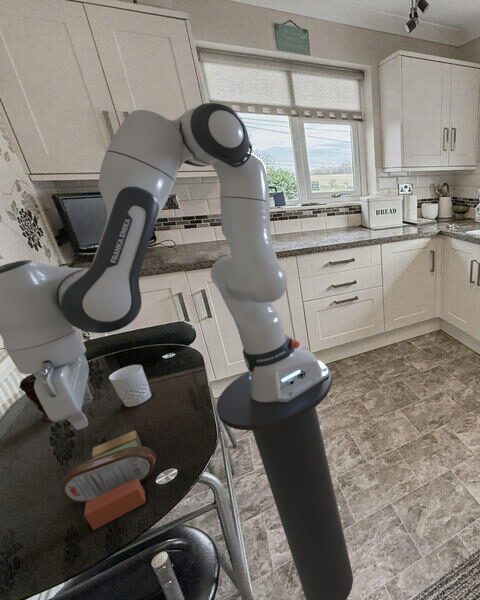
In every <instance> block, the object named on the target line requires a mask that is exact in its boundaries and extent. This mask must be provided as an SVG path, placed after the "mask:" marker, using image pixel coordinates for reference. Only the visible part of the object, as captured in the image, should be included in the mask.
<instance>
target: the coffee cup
mask: <svg viewBox="0 0 480 600" xmlns="http://www.w3.org/2000/svg"><path fill="white" fill-rule="evenodd" d="M36 379H37V378H36V377H35V376H34V374H28V375H27V376H26V377H24V378H22V379H21V380H20V382H19V386H18V388H19V389H20V390H21V391H22V392H24V393H25V396H26V397H27V398H28V399H29V401H30V402H31V403H32V404H33V406H34V407H35V408H36V410H38V411H39V412H41V413H42V414H43V418H44V419H45V420H50V419H49V417H48V416H47V414H46V412H45V410H44V408H43V406H42V405H41V403H40V401H39V399H38V397H37V395H36V392H35V389H34V383H35V381H36ZM50 421H51V420H50Z"/></svg>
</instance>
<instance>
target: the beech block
mask: <svg viewBox="0 0 480 600" xmlns="http://www.w3.org/2000/svg"><path fill="white" fill-rule="evenodd" d="M135 440H136V442H137V444H138V446H142V441H141V439H140V437H139V435H138V432H137V431H136V430H132V431H130V432H128V433H125V434H123V435H121V436H119V437H115V438H113V439H111V440H109V441H105V442H104V443H102V444H98V445H96V446H94V447H92V453H91V459H93V458H96V457H98V456H100V455H103V454H105V453H107V452H110V451H112V450H114V449H116V448H119V447H121V446H123V445H126V444H128V443H130V442H133V441H135Z"/></svg>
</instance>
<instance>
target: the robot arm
mask: <svg viewBox="0 0 480 600" xmlns="http://www.w3.org/2000/svg"><path fill="white" fill-rule="evenodd" d="M249 137H250V136H249V133H248V130H247V127H246V125H245V122H244V121H243V119H242V118H241V116H240V115H239V114H238V112H236V111H235V110H234V109H233V108H231V107H230V106H227V105H225V104H222V103H217V102H205V103H202V104H200V105H198V106H195V107H192V108H191V109H188V110H186V111H184V113H182V114H181V115H180V116H178V117H177V118H175V119H173V120H171V119H168V118H167V117H165V116H163V115H161V114H159V113H157V112H154V111H152V110H146V109H135V110H134V111H132V112H130V113H129V114H128V115H127V116H126V117H125V118H124V120H123V121H122V122H121V124H120V125H119V127H118V128H117V130H116V131H115V133H114V134H113V136H112V138H111V141H110V143H109V145H108V146H107V149H106V151H105V154H104V156H103V159H102V162H101V165H100V170H99V174H98V175H99V176H98V185H97V186H98V190H99V193H100V194H101V197H102V199H103V201H104V204H105V208H106V220H105V221H106V222H105V226H104V228H103V232H102V234H101V237H100V240H99V243H98V245H97V248H96V251H95V254H94V257H93V260H92V263H91V265H90V267H69V266H58V265H53V264H52V265H51V264H46V263H40V262H38V261H34V260H31V259H24V260H18V261H14V262H9V263H6V264H3V265H0V337H1V339H2V343H3V347H4V349H5V352H6V353H7V355H8V356H9V358H10V359H11V361H12V362H13V364H14V365H15V367H16V369H17V370H18V372H19V373H20V374H22V375H31V374H34V376H35V377H36V378H37V379H36V381H35V383H34V389H35V392H36V395H37V397H38V399H39V401H40V403H41V405H42V406H43V408H44V410H45V412H46V414H47V416H48V417H49V419H50V421H51V422H53V423H59V422H60V423H61V422H63V421H68V422H69V423H70V424H72V426H73V428H74V429H75V430H78V431H79V430H82V429H84V428H86V427H88V426H89V422H90V420H89V418H88V416H87V414H85V413H83V411H82V408H83V406H86V405H88V404H89V405H90V404H91V403H92V402H93V396H92V394H91V392H90V388H89V385H88V380H89V374H90V367H89V363H88V360H87V357H86V355H85V353H86V352H87V347H86V346H85V343H84V342H83V340H82V339H83V338H82V336H81V335H80V333H79V332H78V330H77V329H79V330H81V331H83V332H86V333H92V334H106V333H107V334H108V333H113V332H116V331H118V330H122V329H124V328H126V327H127V326H129V325H130V324H131V323H132V322H134V320H135V319H136V318H137V317H138V316H139V314H140V311H141V309H142V294H141V289H140V274H141V270H142V267H143V264H144V261H145V257H146V254H147V251H148V247H149V245H150V241H151V239H152V235H153V231H154V229H155V225H156V223H157V221H158V219H159V217H160V215H161V213H162V210H163V209H164V207H165V205H166V203H167V202H168V199H169V197H170V195H171V192H172V190H173V187H174V185H175V182H176V180H177V177H178V173H179V171H180V169H181V167H182V165H183V164H186V165H188V166H193V167H199V168H200V167H201V168H203V167H209V166H212V168H213V169H214V171H215V172H216V175H217V177H218V182H219V185H220V186H219V197H220V198H219V200H220V225H221V232H222V234H223V236H224V237H225V240H226V242H227V245H228V249H229V251H230V255H226V256H223V257H221V258H219V259H217V260H216V261H215V262H214V263H213V265H212V267H211V268H210V278H211V281H212V283H213V284H214V286H215V287H216V288H217V290H218V292H219V294H220V295H221V297H222V299H223V302H224V304H225V306H226V308H227V309H228V311H229V313H230V315H231V317H232V319H233V321H234V324H235V325H236V328H237V331H238V332H237V333H238V335H239V339H240V342H241V345H242V348H243V349H242V353H243V354H242V355H243V360H244V364H245V366H246V369H247V370H248V372H249V373H250V381H251V393H250V395H251V397H252V399H254V400H255V401H258V402H274V401H279V402H288V401H290V400H292V399H293V398H295V397H296V396H298V395H300V394H301V393H303V392H304V391H306V390H308V389H309V388H311V387H312V386H314V385H316V384H317V383H319V382H321V381H322V380H324V379H325V378H327V377H328V376H329V371H328V368H329V367H328V366H327V365H326V364H325V363H324V362H322V361H321V360H319V359H318V358H317V357H316V356H315V354H314V353H313V352H311V350H309V348H308V347H307V346H303V347H300V344H301V343H300V342H299V341H298V340H297V339H294V338H292V337H291V336H288V335H286V333H285V330H284V326H283V322H282V318H281V314H280V312H279V311H278V309H277V308H276V307H275V306H274V305H273V302H276V301H278V300H280V299H281V298H282V297H283V296H284V295H285V293H286V291H287V288H288V277H287V274H286V271H285V270H284V269H283V268H282V266H281V264H280V263H279V261H278V257H277V254H276V250H275V247H274V243H273V239H272V232H271V231H272V230H271V205H270V201H271V200H270V188H269V187H270V186H269V179H268V174H267V170H266V166H265V164H264V162H263V160H262V159H261V158H259V157H258V156H257V155H255V154H253V153H252V152H253V146H252V144H251V141H250V138H249ZM326 366H327V367H328V368H327V367H326Z"/></svg>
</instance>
